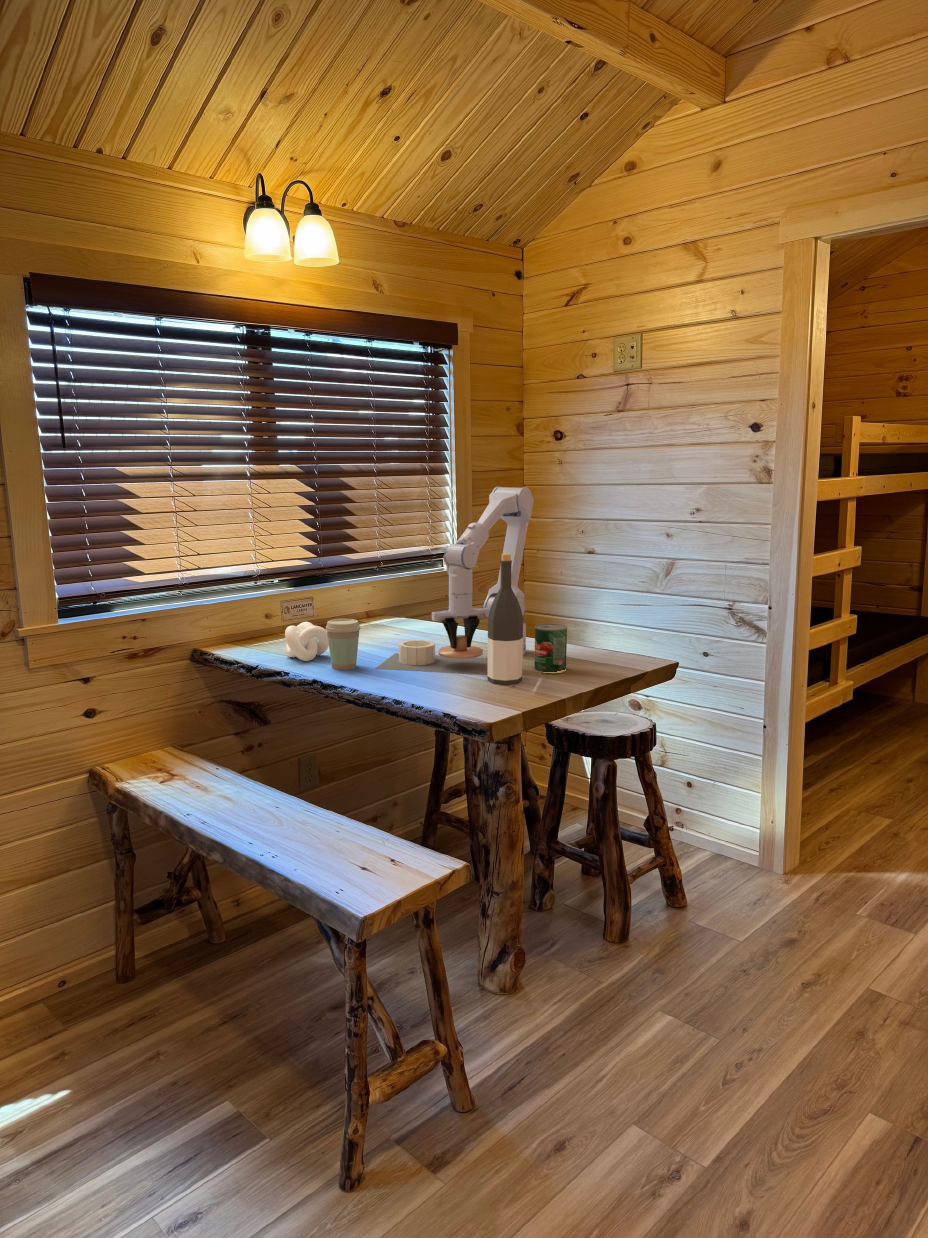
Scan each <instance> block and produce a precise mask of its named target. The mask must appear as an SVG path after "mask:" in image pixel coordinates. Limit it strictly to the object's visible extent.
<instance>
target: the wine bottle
mask: <svg viewBox="0 0 928 1238" xmlns="http://www.w3.org/2000/svg"><path fill="white" fill-rule="evenodd" d="M499 563H500V566H501V585H500V589H499V591H498V593H497V595H496V597H495V598H494V600H493V603H492V605H491V608H490V611H489V616H488V617H487V653H488V655H487V658H488V674H487V682H489V683H491V684H493V685H500V686H509V685H510V686H511V685H518V684H520V682H521V683H522V681H523V657H524V655H523V623H524V615H522V611H521V607H520V605H519V602H518V600H517V598H516V596H515V594H514V592H513V590H512V588H511V565H512V561H511V554H503V553H501V559H500V561H499Z"/></svg>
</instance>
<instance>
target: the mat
mask: <svg viewBox="0 0 928 1238" xmlns="http://www.w3.org/2000/svg"><path fill="white" fill-rule="evenodd" d="M375 670H390V671H392V670H393V671H406V672H407V671H408V672H426V673H440V674H441V673H443V674H444V673H445V674H461V675H479V676H488V657H474V658H465V659H457V658H447V657H443V656H440V655H439V654H437V655H436V654H435V662H433V663H431V664H427V665H406V664H402V663H400V662H399V652H398V653H397V652H395V653H394V654H392V655H390V656H389V657H388V658H387V659H385V660H384V661H383V662H381V663H380V664H378V665H377V666H376V667H375Z"/></svg>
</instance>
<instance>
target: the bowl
mask: <svg viewBox="0 0 928 1238" xmlns="http://www.w3.org/2000/svg"><path fill="white" fill-rule="evenodd" d="M398 653H399V662H400V663H402V664H406V665H427V664H431V663H433V662H435V655H436V643H435V642H434V641H431V640H427V639H409V640H403V641H400V642H399V643H398Z"/></svg>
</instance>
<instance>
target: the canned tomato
mask: <svg viewBox="0 0 928 1238" xmlns="http://www.w3.org/2000/svg"><path fill="white" fill-rule="evenodd" d="M567 637H568V626H567V625H565V624H559V623H552V622H551V623H548V622H547V623H539V624H536V625H534V670H536V671H538V672H541V673H542V672H557V671H561V670H565V669H566V670H567V649H568V648H567V647H568V638H567Z"/></svg>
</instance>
